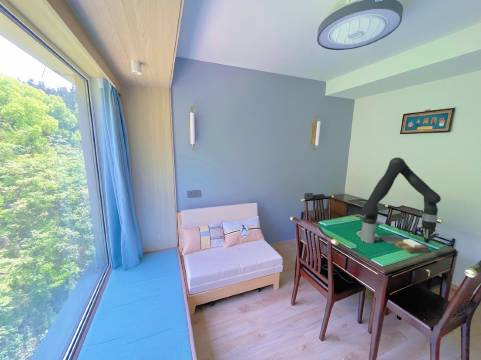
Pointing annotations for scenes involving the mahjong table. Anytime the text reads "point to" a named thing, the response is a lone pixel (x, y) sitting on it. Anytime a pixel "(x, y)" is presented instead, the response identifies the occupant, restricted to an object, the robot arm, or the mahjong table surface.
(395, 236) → the mat
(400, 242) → the deck
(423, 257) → the mahjong table surface
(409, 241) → the card
